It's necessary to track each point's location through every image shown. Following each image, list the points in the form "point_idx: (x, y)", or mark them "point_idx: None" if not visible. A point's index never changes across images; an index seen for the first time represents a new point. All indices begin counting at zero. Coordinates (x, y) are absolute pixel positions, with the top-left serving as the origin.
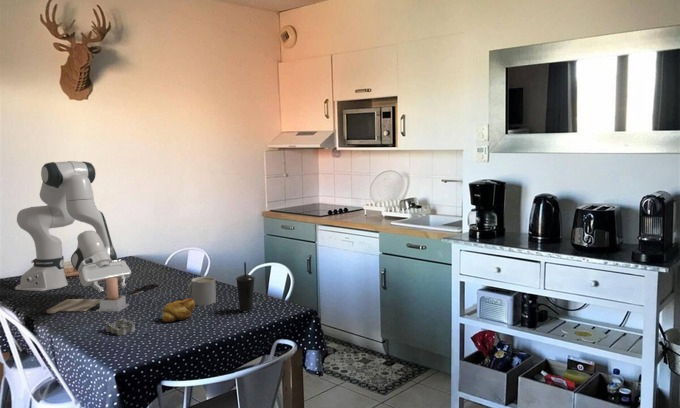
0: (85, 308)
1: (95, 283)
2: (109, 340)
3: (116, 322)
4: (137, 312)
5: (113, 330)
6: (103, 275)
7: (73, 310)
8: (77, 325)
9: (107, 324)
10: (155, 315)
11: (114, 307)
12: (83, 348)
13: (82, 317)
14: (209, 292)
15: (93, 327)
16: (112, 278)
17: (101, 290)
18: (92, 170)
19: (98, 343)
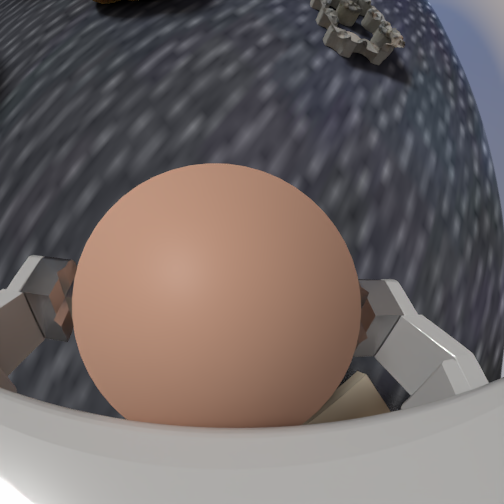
0: (342, 419)
1: (466, 361)
2: (393, 19)
3: (349, 44)
4: (152, 129)
5: (376, 26)
6: (378, 500)
7: None
8: (446, 202)
9: (391, 40)
10: (147, 41)
11: None
12: (446, 43)
13: None
14: None
15: (409, 123)
16: (181, 328)
17: (379, 280)
18: None
19: (417, 30)
